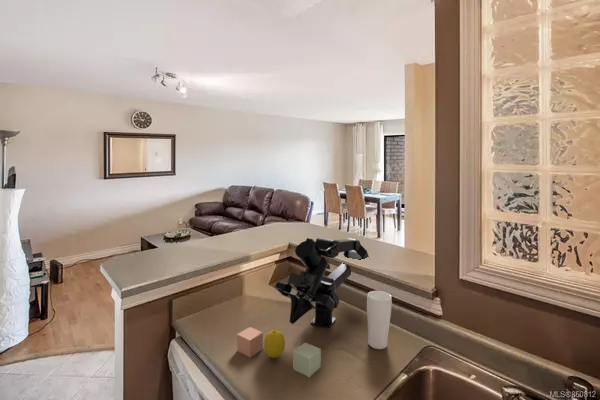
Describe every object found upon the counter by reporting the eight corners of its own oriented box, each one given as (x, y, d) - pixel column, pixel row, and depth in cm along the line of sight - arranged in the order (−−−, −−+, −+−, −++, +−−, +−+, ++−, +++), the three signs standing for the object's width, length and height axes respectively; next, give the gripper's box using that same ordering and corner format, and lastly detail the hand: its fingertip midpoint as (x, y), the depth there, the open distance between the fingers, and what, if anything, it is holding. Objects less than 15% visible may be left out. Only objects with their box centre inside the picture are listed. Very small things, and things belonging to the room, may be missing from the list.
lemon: (282, 365, 82) (281, 336, 81) (261, 363, 83) (261, 334, 82) (287, 353, 88) (287, 325, 87) (267, 350, 89) (267, 323, 88)
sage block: (304, 359, 85) (304, 342, 84) (320, 367, 82) (320, 349, 81) (293, 369, 81) (293, 351, 80) (309, 377, 78) (309, 358, 77)
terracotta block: (250, 342, 93) (250, 326, 92) (262, 349, 90) (262, 332, 89) (237, 351, 89) (237, 334, 88) (250, 357, 86) (249, 340, 85)
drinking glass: (391, 341, 93) (393, 292, 92) (387, 354, 87) (389, 302, 86) (368, 336, 96) (370, 288, 94) (362, 348, 90) (364, 297, 88)
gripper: (278, 255, 98) (253, 302, 91) (330, 267, 87) (306, 322, 80) (293, 272, 105) (271, 317, 98) (343, 286, 94) (323, 337, 87)
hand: (291, 323), depth 90 cm, fingers closed
